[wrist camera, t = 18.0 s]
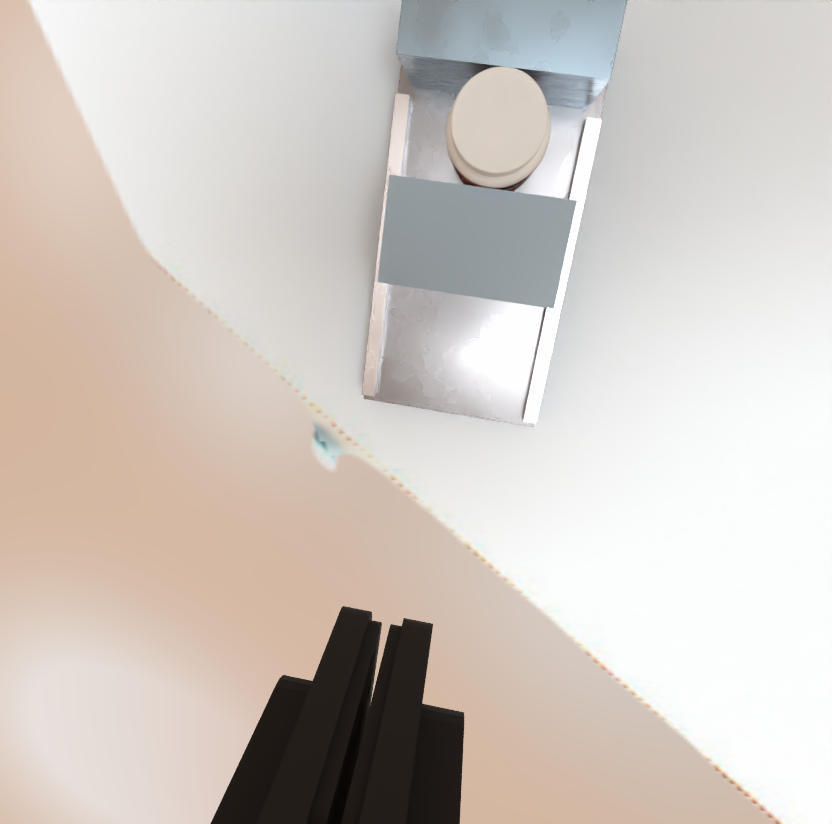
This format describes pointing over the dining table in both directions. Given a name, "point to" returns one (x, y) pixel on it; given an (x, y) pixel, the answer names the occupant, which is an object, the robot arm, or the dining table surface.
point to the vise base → (429, 159)
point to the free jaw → (474, 241)
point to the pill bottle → (498, 129)
